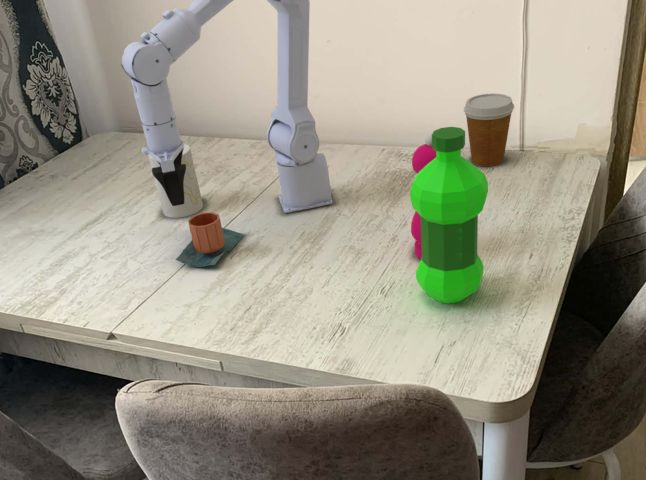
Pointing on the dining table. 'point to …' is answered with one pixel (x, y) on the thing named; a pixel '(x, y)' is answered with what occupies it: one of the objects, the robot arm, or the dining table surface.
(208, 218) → the faceted terracotta tumbler
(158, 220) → the dining table surface
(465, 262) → the plastic bottle
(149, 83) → the robot arm
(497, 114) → the disposable coffee cup
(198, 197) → the white cylinder
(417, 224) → the pepper mill
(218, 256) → the terrain model
